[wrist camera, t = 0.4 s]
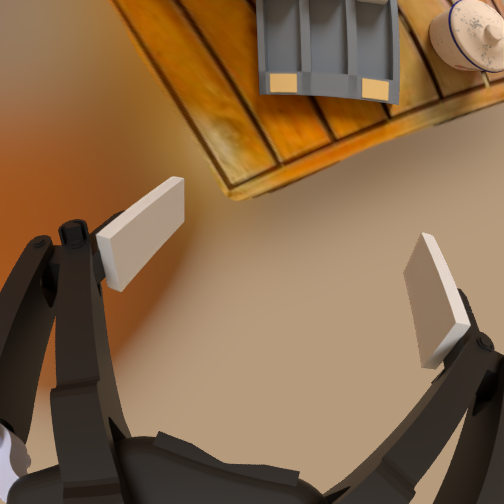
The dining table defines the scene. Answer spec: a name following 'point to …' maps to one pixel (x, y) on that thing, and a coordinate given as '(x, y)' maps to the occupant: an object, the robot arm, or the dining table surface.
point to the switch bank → (329, 49)
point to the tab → (375, 1)
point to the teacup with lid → (469, 37)
